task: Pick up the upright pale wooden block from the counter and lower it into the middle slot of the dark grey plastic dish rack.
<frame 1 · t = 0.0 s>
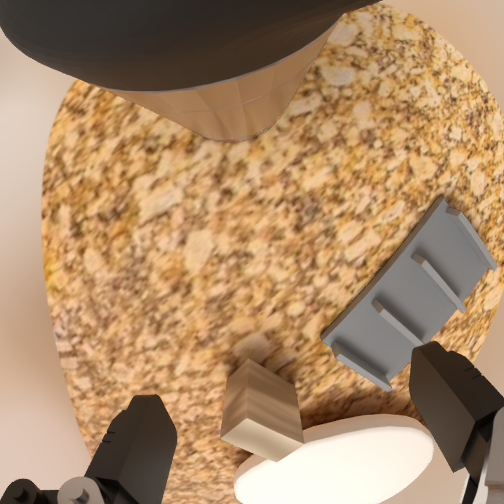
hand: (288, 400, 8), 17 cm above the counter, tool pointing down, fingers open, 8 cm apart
plate: (335, 463, 34), on the counter
block: (261, 382, 29), on the counter
rack: (413, 297, 26), on the counter
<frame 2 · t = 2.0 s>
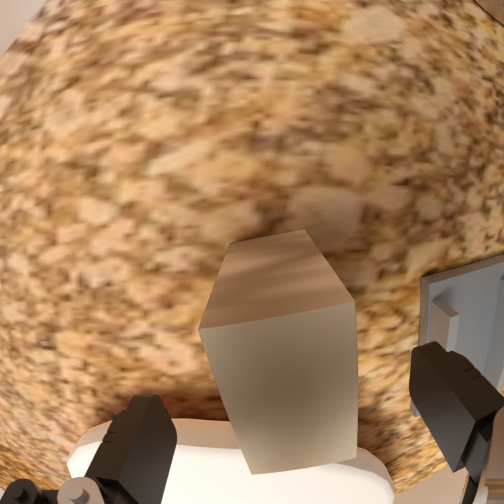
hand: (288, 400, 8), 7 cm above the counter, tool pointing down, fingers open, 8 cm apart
plate: (233, 492, 21), on the counter
block: (278, 295, 15), on the counter
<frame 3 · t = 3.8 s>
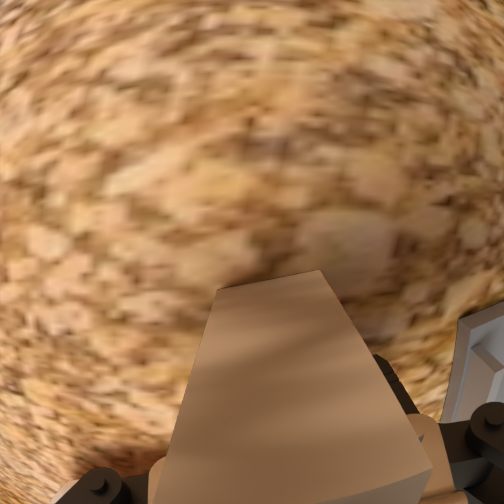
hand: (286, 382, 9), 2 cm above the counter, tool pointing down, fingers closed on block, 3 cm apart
block: (283, 353, 11), on the counter, touching gripper
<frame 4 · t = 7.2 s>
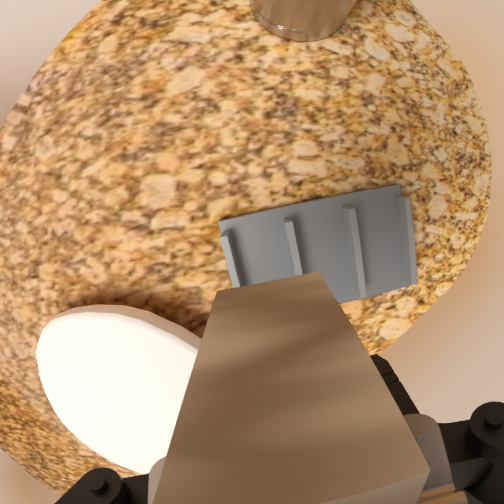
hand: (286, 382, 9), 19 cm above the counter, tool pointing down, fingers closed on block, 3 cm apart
plate: (145, 394, 33), on the counter
block: (282, 354, 11), point 17 cm above the counter, touching gripper
rack: (321, 253, 28), on the counter
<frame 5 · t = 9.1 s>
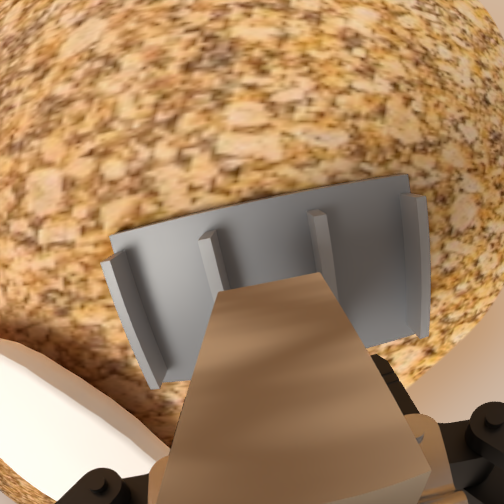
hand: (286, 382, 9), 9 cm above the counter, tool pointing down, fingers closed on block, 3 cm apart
plate: (72, 437, 23), on the counter
block: (283, 355, 11), point 7 cm above the counter, touching gripper
rack: (274, 285, 18), on the counter
when the fingers open (4 cm above the counter, at t = 10.8 s): block drops 1 cm, resting on rack.
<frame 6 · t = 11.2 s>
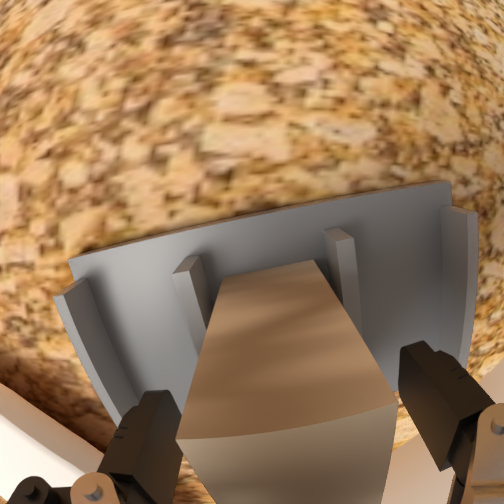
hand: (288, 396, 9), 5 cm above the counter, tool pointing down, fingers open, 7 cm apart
plate: (55, 466, 18), on the counter
block: (281, 335, 12), point 1 cm above the counter, touching rack
rack: (278, 324, 13), on the counter
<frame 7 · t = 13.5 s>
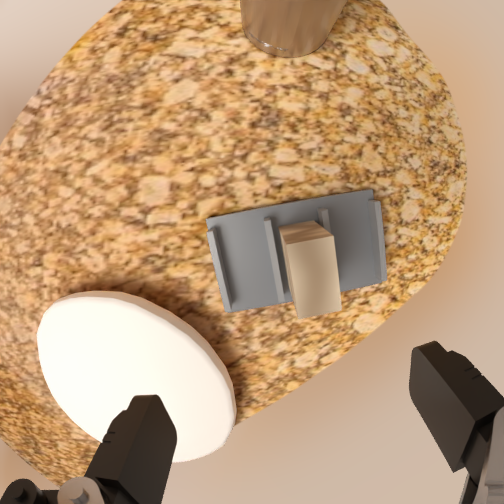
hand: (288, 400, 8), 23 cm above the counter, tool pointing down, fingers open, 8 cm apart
plate: (136, 378, 36), on the counter
block: (300, 253, 30), point 1 cm above the counter, touching rack
rack: (298, 250, 31), on the counter
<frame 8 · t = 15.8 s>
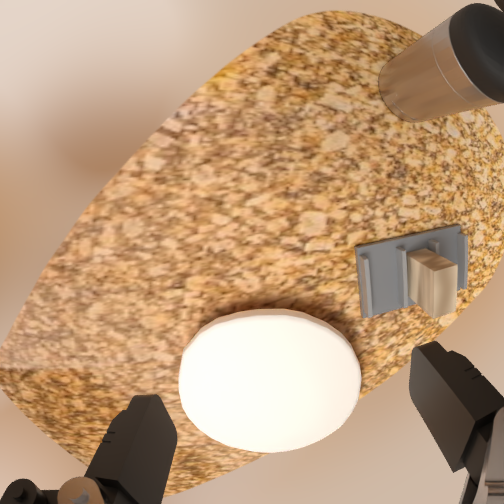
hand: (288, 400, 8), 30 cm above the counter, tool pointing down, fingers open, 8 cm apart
plate: (269, 380, 44), on the counter
block: (415, 271, 38), point 1 cm above the counter, touching rack
rack: (412, 269, 39), on the counter
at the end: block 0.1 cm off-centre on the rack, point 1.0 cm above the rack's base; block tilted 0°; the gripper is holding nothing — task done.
